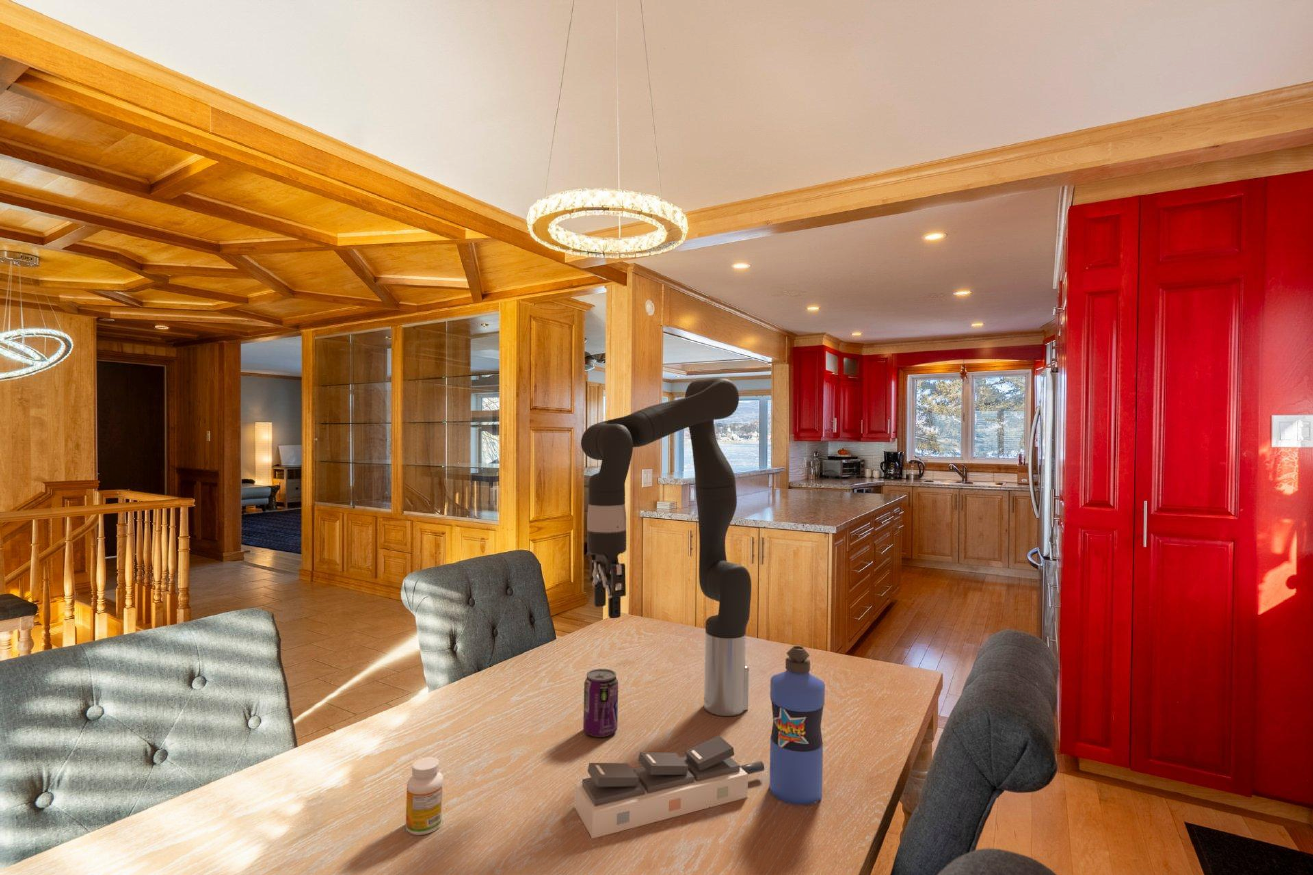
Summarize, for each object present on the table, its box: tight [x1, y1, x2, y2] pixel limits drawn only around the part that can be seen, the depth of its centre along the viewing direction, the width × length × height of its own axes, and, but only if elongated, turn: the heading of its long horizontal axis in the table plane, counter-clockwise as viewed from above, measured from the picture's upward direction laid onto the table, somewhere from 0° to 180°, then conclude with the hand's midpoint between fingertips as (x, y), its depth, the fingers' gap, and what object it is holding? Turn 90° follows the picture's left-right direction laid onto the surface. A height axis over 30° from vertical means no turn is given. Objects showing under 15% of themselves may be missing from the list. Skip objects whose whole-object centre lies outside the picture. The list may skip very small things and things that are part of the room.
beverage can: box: [582, 668, 619, 738], centre depth 130 cm, size 7×7×12 cm
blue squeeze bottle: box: [768, 645, 826, 806], centre depth 109 cm, size 9×9×25 cm
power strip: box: [574, 755, 765, 839], centre depth 106 cm, size 34×9×5 cm, turn 115°
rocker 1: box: [587, 762, 639, 787], centre depth 101 cm, size 7×5×2 cm
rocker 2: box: [637, 751, 689, 775], centre depth 105 cm, size 7×5×2 cm
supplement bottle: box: [405, 756, 444, 836], centre depth 98 cm, size 5×5×10 cm
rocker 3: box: [684, 735, 735, 771], centre depth 109 cm, size 7×5×2 cm
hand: (606, 611), depth 120 cm, fingers open, 8 cm apart
